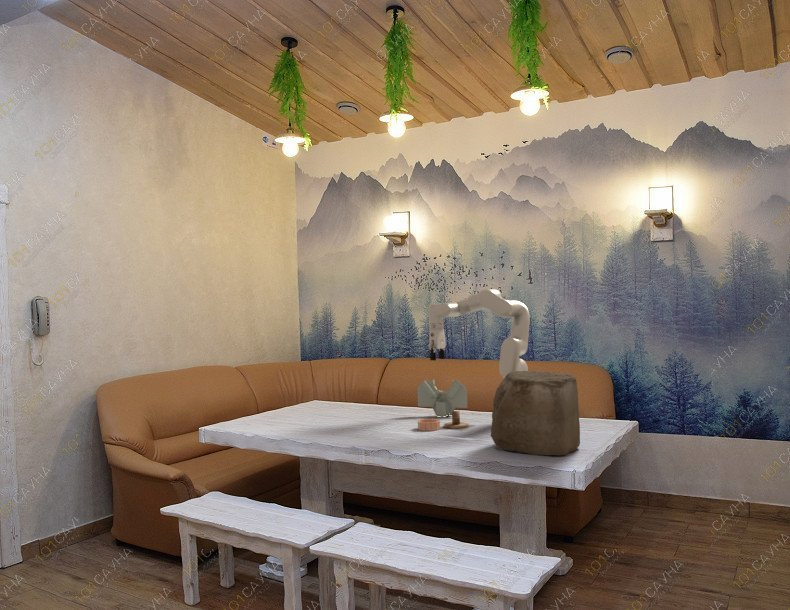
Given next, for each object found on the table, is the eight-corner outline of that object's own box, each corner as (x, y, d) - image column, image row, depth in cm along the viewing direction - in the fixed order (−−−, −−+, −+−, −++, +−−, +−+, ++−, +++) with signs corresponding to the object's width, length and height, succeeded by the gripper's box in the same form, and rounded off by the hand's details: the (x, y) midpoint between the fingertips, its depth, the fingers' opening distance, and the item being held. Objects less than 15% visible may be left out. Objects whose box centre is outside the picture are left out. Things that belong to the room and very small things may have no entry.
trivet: (476, 427, 305) (476, 425, 305) (462, 432, 293) (461, 430, 293) (450, 424, 313) (450, 423, 313) (436, 429, 301) (435, 428, 301)
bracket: (469, 416, 335) (468, 378, 335) (465, 418, 329) (464, 379, 329) (420, 414, 346) (419, 377, 346) (416, 416, 340) (414, 379, 340)
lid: (472, 425, 304) (472, 410, 304) (460, 429, 295) (460, 414, 295) (451, 423, 311) (451, 409, 311) (439, 427, 302) (438, 412, 302)
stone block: (478, 450, 256) (476, 375, 255) (507, 437, 275) (505, 368, 274) (560, 462, 234) (558, 381, 234) (585, 447, 254) (583, 372, 253)
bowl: (443, 429, 301) (443, 419, 301) (432, 433, 293) (432, 423, 293) (425, 427, 307) (425, 418, 307) (414, 431, 299) (413, 421, 299)
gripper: (435, 327, 326) (436, 361, 326) (450, 326, 341) (451, 358, 341) (422, 327, 330) (423, 360, 330) (438, 326, 345) (439, 358, 345)
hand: (437, 359), depth 335 cm, fingers open, 9 cm apart
